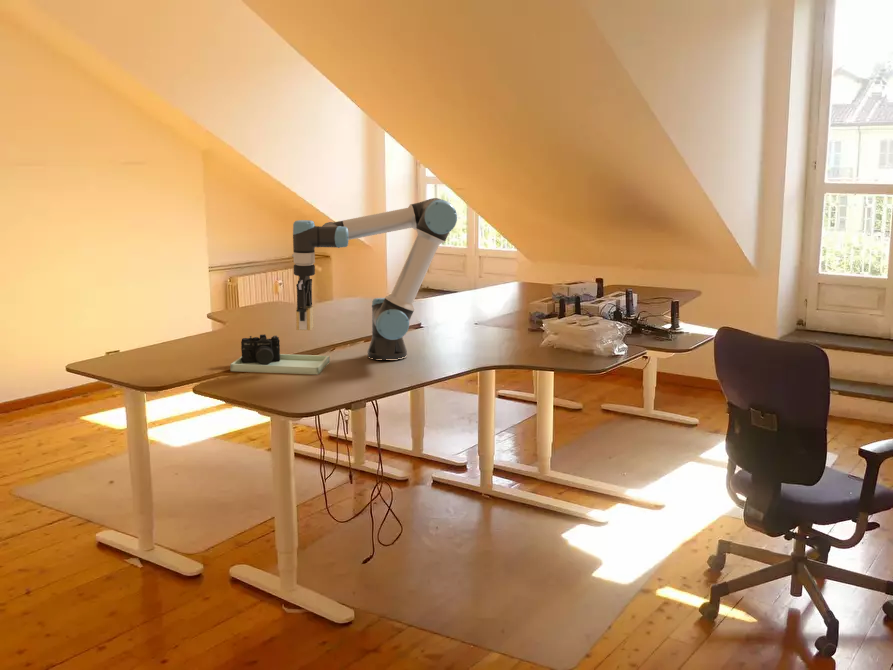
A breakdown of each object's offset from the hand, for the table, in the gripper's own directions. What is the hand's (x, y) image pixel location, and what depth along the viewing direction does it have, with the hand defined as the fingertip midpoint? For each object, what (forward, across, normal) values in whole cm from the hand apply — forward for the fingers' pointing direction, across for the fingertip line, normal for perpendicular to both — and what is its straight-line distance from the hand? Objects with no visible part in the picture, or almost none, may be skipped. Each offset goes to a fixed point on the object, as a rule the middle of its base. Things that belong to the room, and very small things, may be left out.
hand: (305, 327), depth 319 cm
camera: (+14, -1, -17) cm, 22 cm away
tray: (+15, 0, -9) cm, 18 cm away
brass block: (0, 0, 0) cm, 0 cm away
